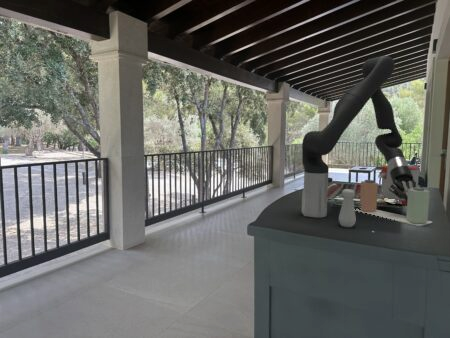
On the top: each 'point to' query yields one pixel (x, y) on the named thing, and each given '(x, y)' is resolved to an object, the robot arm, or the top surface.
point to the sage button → (417, 205)
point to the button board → (392, 216)
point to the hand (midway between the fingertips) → (413, 206)
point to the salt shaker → (347, 209)
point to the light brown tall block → (368, 195)
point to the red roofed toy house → (388, 182)
